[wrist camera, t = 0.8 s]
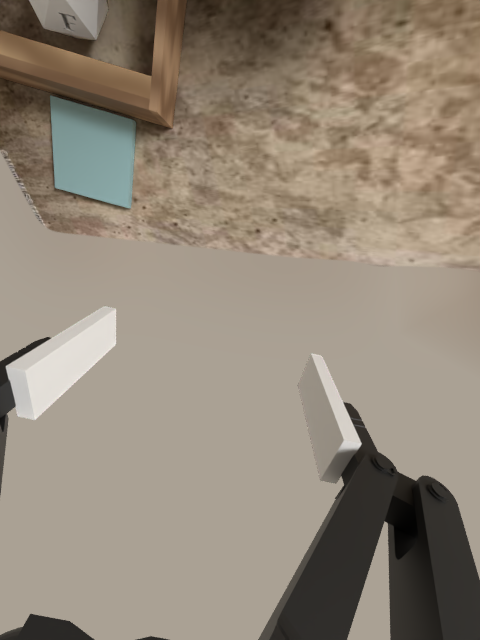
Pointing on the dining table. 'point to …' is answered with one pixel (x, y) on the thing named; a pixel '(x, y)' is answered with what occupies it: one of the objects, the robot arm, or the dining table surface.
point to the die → (72, 16)
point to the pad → (92, 152)
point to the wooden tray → (104, 71)
